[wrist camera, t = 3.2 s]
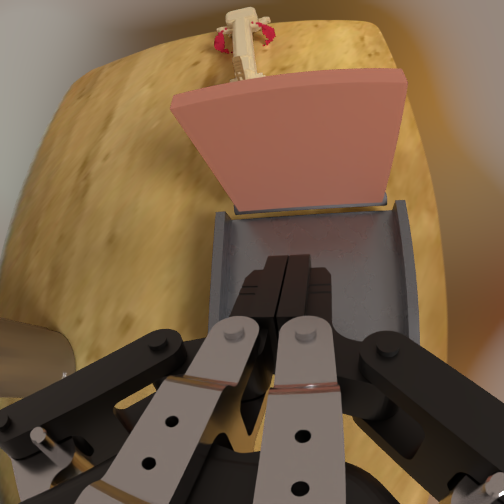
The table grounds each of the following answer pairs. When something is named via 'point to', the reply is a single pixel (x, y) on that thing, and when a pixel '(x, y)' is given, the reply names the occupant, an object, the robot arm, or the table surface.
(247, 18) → the cream blocky figure
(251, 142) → the flat pink square board
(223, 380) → the robot arm
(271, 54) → the table surface
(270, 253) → the grey open box
